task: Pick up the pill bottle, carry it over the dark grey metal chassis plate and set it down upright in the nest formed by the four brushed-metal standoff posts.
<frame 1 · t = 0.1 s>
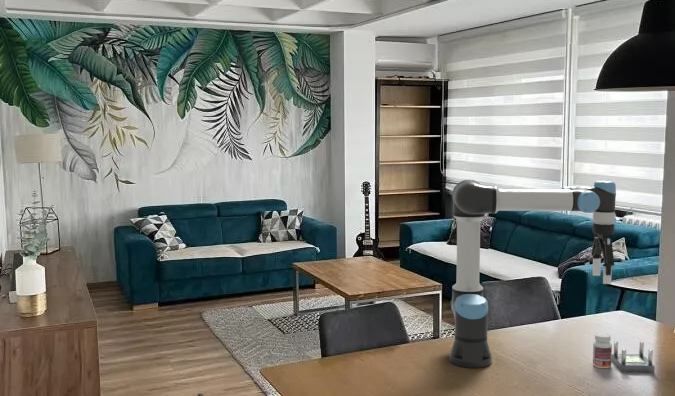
hand: (601, 279, 266), 28 cm above the table, fingers open, 13 cm apart
pill bottle: (601, 366, 254), on the table
chassis: (632, 366, 253), on the table
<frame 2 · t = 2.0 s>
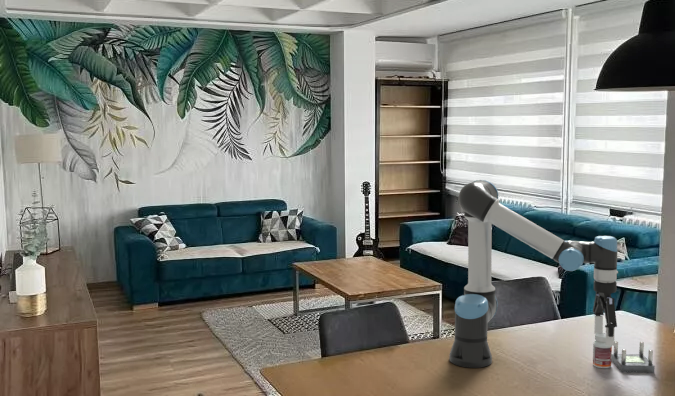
hand: (604, 339, 253), 10 cm above the table, fingers open, 13 cm apart
nothing on the table moved.
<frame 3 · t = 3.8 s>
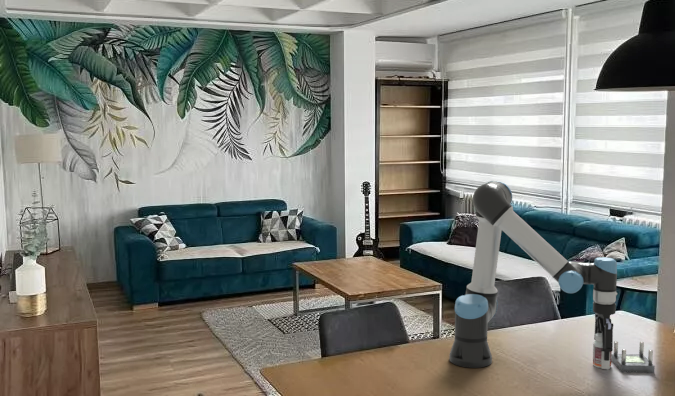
hand: (602, 365, 254), 0 cm above the table, fingers closed on pill bottle, 6 cm apart
pill bottle: (601, 366, 254), on the table, touching gripper
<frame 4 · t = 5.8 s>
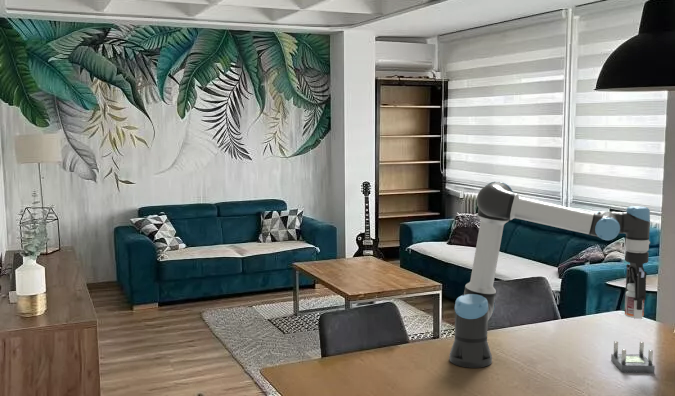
hand: (634, 315, 251), 19 cm above the table, fingers closed on pill bottle, 6 cm apart
pill bottle: (633, 316, 251), point 18 cm above the table, touching gripper
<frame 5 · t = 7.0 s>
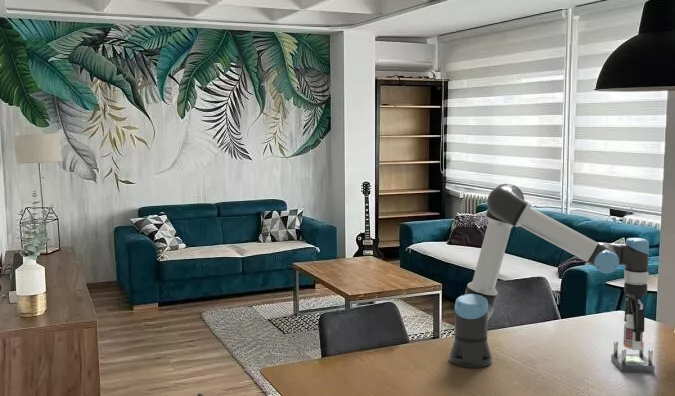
hand: (633, 346, 253), 7 cm above the table, fingers closed on pill bottle, 6 cm apart
pill bottle: (632, 347, 253), point 7 cm above the table, touching gripper
when the fingers open (4 cm above the table, at t = 8.0 s): pill bottle stays where it is, resting on chassis.
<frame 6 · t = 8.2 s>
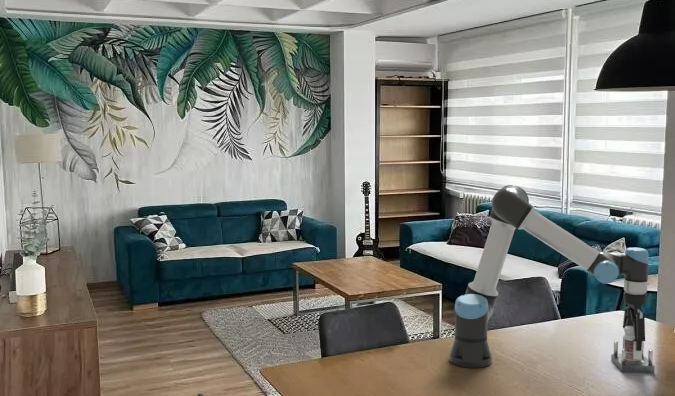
hand: (632, 354, 253), 4 cm above the table, fingers open, 9 cm apart
pill bottle: (631, 359, 253), point 3 cm above the table, touching chassis
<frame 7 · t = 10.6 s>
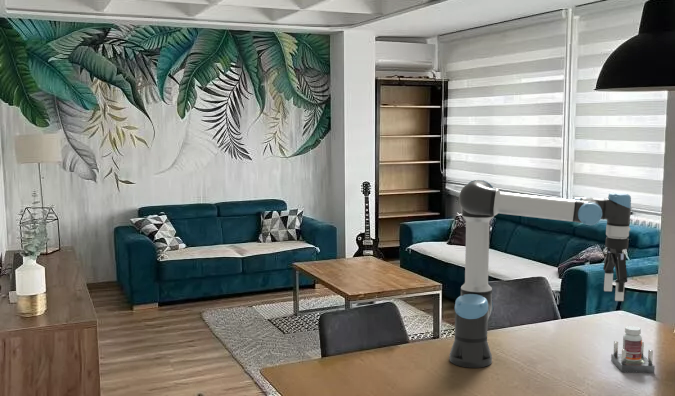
hand: (613, 295, 255), 25 cm above the table, fingers open, 13 cm apart
nothing on the table moved.
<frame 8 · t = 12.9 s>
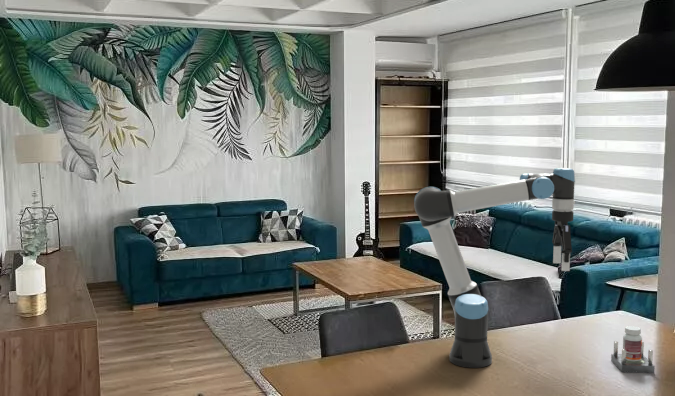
hand: (561, 266, 265), 33 cm above the table, fingers open, 13 cm apart
nothing on the table moved.
at the end: pill bottle 0.3 cm off-centre on the chassis, point 2.5 cm above the chassis's base; pill bottle tilted 0°; the gripper is holding nothing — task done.
